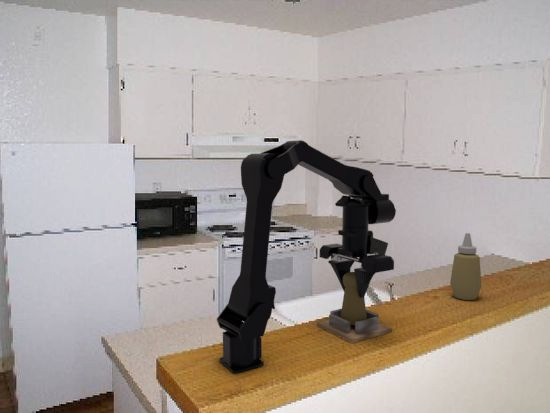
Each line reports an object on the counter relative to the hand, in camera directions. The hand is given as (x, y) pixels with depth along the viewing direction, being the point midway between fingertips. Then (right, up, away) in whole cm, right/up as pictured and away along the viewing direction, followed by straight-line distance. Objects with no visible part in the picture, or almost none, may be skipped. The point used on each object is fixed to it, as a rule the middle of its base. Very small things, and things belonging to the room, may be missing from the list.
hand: (353, 294), depth 104 cm
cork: (0, -6, +1) cm, 6 cm away
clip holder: (0, -8, +1) cm, 8 cm away
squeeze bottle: (+35, -6, +24) cm, 43 cm away
